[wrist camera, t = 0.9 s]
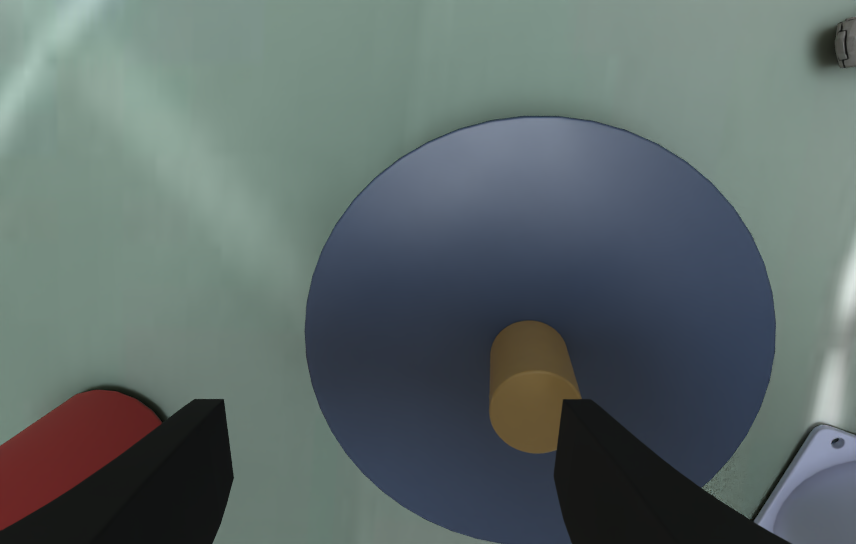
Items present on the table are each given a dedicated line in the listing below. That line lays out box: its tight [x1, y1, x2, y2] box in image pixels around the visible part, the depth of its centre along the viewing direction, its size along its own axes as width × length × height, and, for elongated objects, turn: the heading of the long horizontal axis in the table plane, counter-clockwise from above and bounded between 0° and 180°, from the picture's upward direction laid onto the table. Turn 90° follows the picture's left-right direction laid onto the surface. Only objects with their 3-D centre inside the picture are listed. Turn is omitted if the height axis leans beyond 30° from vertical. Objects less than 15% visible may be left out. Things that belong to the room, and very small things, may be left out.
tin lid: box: [305, 116, 776, 544], centre depth 17 cm, size 15×15×5 cm
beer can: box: [0, 390, 163, 531], centre depth 24 cm, size 7×7×12 cm
